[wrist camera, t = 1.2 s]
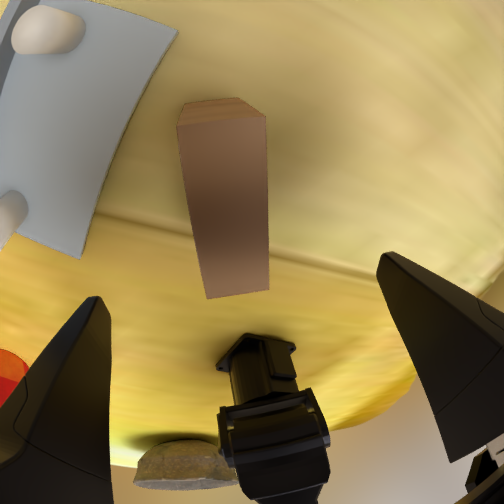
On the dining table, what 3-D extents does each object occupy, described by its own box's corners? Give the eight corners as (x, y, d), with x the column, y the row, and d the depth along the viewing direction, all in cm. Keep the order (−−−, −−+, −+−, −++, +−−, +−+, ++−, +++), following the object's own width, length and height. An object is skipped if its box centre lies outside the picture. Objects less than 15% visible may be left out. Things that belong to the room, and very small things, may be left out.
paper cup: (22, 380, 27) (8, 465, 16) (-18, 350, 23) (-41, 438, 12) (46, 372, 26) (31, 471, 15) (0, 337, 22) (-28, 442, 11)
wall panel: (82, 253, 18) (63, 299, 14) (-26, 204, 13) (-59, 239, 10) (178, 32, 11) (171, 17, 8) (32, -8, 7) (-10, -18, 3)
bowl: (159, 456, 52) (162, 492, 45) (111, 431, 40) (111, 479, 32) (242, 446, 53) (250, 485, 45) (216, 422, 40) (224, 477, 33)
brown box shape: (245, 217, 19) (269, 289, 14) (200, 224, 19) (205, 299, 13) (237, 97, 14) (265, 116, 9) (183, 103, 14) (174, 126, 9)
